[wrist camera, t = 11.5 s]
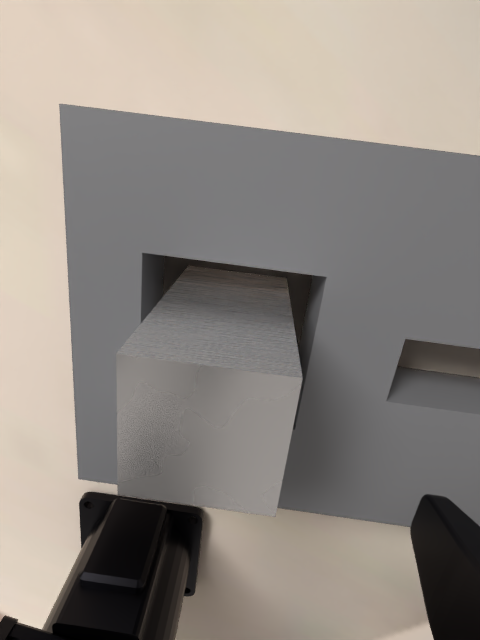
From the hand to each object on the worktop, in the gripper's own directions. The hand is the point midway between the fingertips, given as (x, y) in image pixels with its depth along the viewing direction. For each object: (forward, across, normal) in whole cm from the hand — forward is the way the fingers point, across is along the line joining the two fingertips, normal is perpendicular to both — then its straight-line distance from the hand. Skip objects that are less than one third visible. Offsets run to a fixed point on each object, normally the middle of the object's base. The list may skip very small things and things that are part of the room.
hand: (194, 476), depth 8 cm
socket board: (+9, -4, 0) cm, 10 cm away
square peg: (+9, 0, 0) cm, 9 cm away
